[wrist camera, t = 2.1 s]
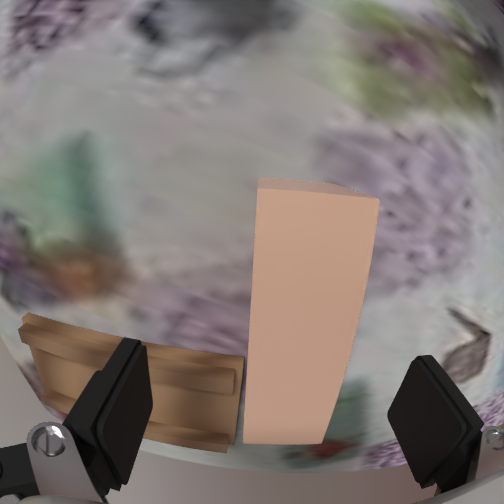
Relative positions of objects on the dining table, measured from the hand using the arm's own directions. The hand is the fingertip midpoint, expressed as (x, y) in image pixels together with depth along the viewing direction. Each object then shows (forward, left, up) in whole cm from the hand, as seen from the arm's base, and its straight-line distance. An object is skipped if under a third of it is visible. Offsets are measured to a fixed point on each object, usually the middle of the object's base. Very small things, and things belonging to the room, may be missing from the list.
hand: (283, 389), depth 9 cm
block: (-1, 0, -9) cm, 9 cm away
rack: (+10, +10, -9) cm, 17 cm away
